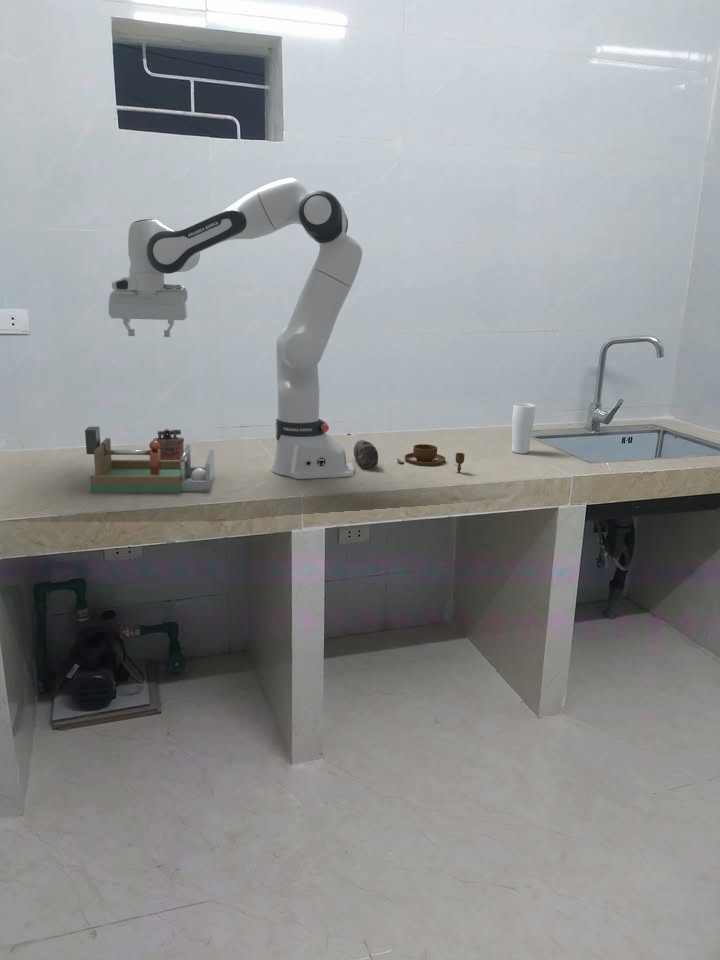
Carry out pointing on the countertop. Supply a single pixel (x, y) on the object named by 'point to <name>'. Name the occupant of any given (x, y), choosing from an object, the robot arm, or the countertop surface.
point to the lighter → (170, 444)
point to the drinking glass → (522, 427)
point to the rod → (94, 441)
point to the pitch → (133, 474)
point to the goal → (193, 485)
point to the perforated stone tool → (365, 454)
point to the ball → (199, 475)
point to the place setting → (429, 456)
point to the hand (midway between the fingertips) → (149, 336)
